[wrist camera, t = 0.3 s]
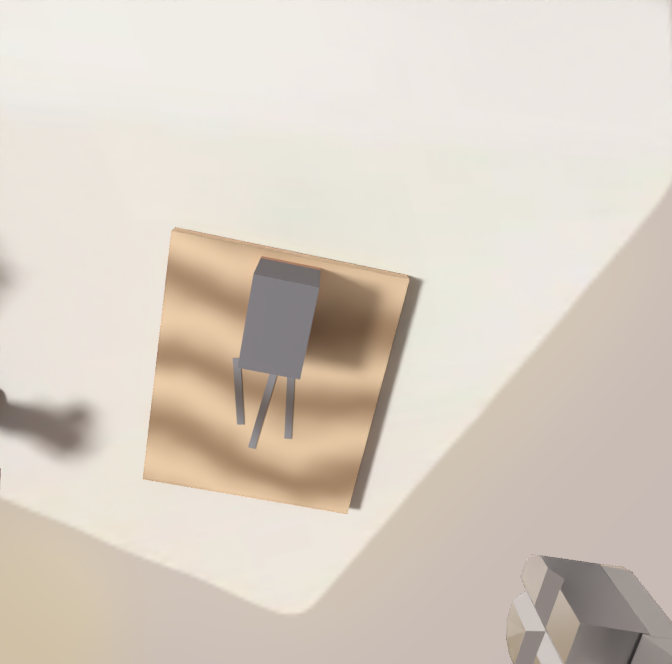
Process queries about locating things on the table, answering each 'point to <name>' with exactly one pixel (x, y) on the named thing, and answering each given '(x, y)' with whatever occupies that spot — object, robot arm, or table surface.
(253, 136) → the table surface
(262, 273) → the block
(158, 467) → the board
